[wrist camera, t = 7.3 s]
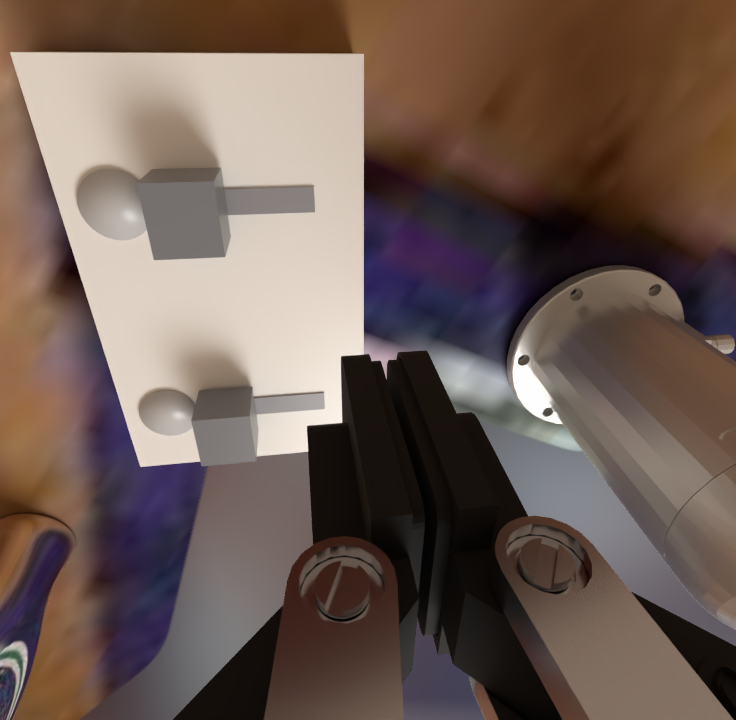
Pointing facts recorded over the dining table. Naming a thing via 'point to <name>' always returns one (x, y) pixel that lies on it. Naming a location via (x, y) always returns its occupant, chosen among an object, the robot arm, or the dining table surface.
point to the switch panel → (246, 221)
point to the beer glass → (26, 595)
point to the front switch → (185, 213)
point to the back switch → (225, 426)
